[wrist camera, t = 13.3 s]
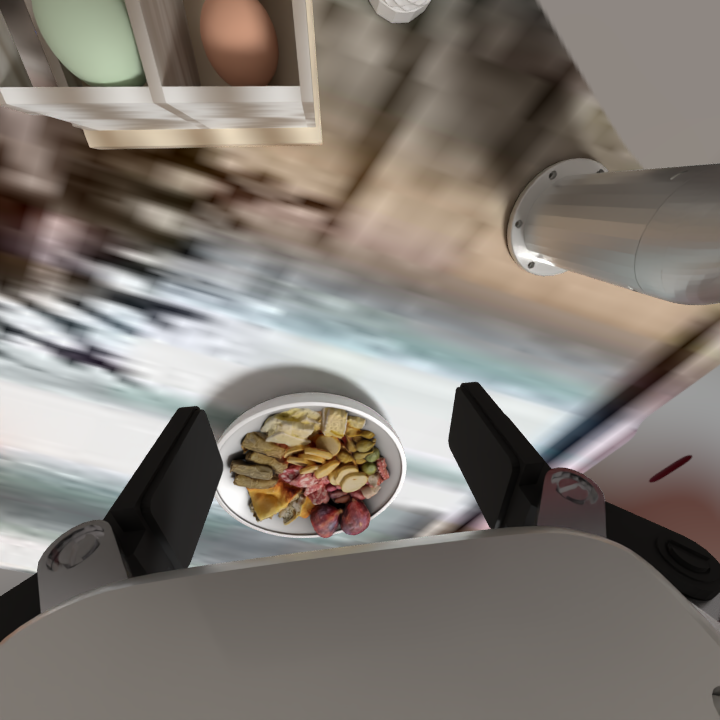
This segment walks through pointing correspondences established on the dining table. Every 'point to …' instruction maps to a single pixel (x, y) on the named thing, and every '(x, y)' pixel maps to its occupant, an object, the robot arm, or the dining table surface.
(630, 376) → the dining table surface
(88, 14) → the sage ball
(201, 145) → the grey divided rectangular box
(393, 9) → the white cup
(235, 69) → the terracotta ball
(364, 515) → the bowl
